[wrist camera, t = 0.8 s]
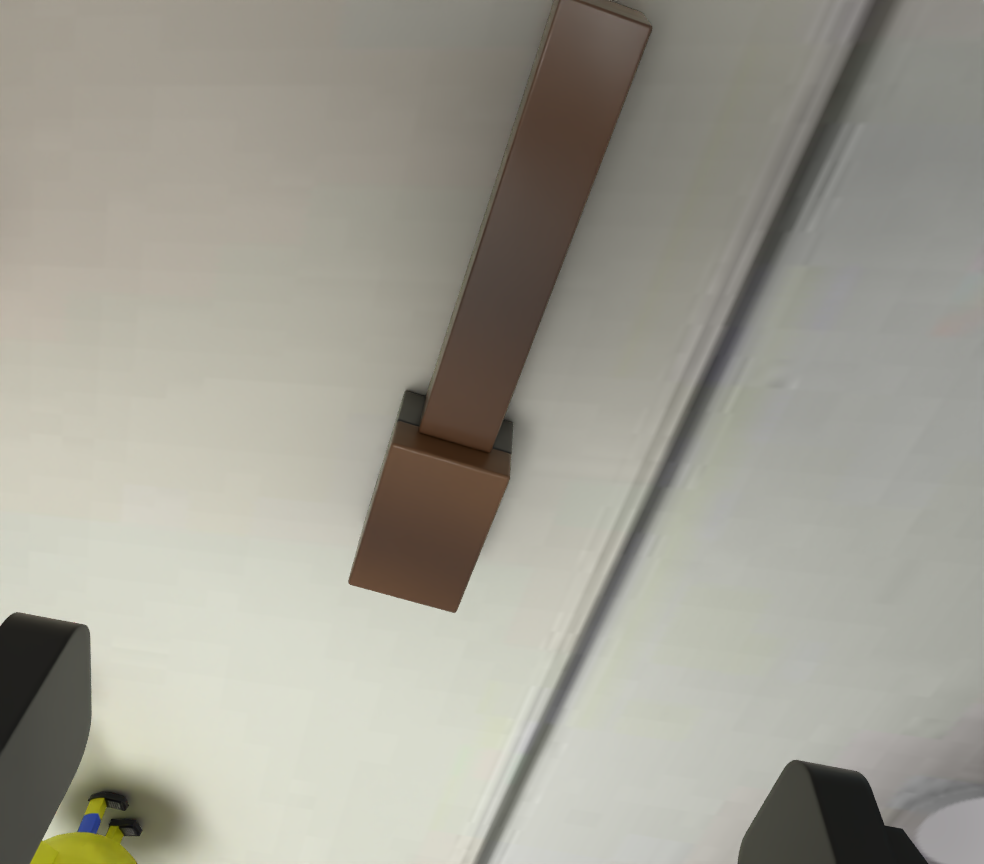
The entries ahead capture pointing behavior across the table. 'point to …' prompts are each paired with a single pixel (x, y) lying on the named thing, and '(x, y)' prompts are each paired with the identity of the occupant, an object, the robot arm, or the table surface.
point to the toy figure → (92, 837)
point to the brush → (498, 314)
